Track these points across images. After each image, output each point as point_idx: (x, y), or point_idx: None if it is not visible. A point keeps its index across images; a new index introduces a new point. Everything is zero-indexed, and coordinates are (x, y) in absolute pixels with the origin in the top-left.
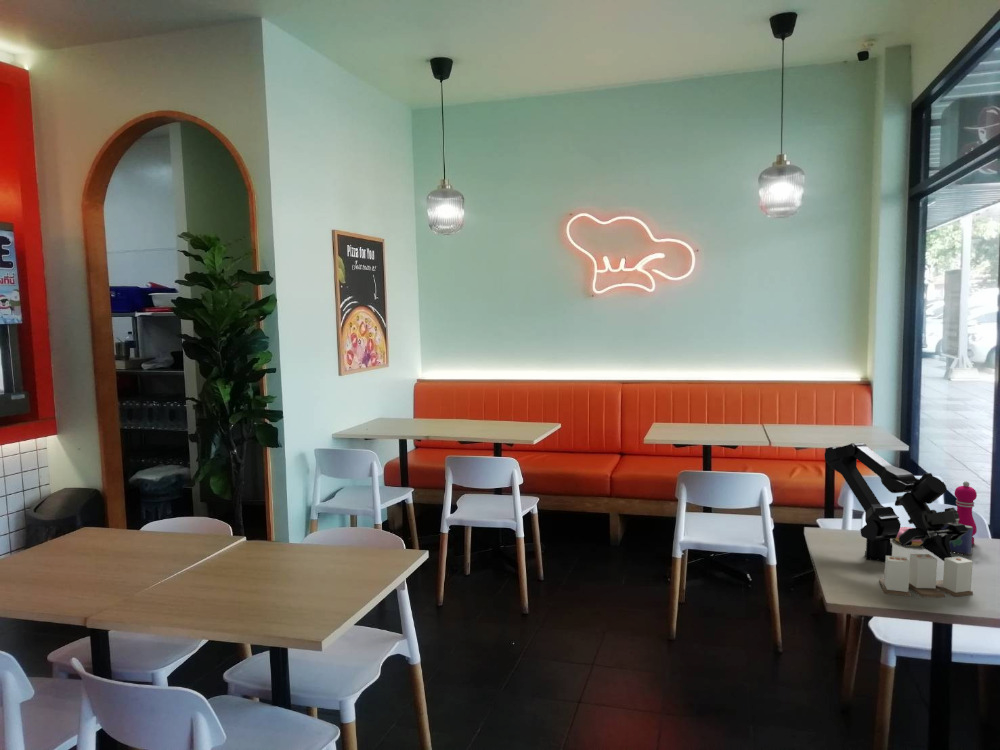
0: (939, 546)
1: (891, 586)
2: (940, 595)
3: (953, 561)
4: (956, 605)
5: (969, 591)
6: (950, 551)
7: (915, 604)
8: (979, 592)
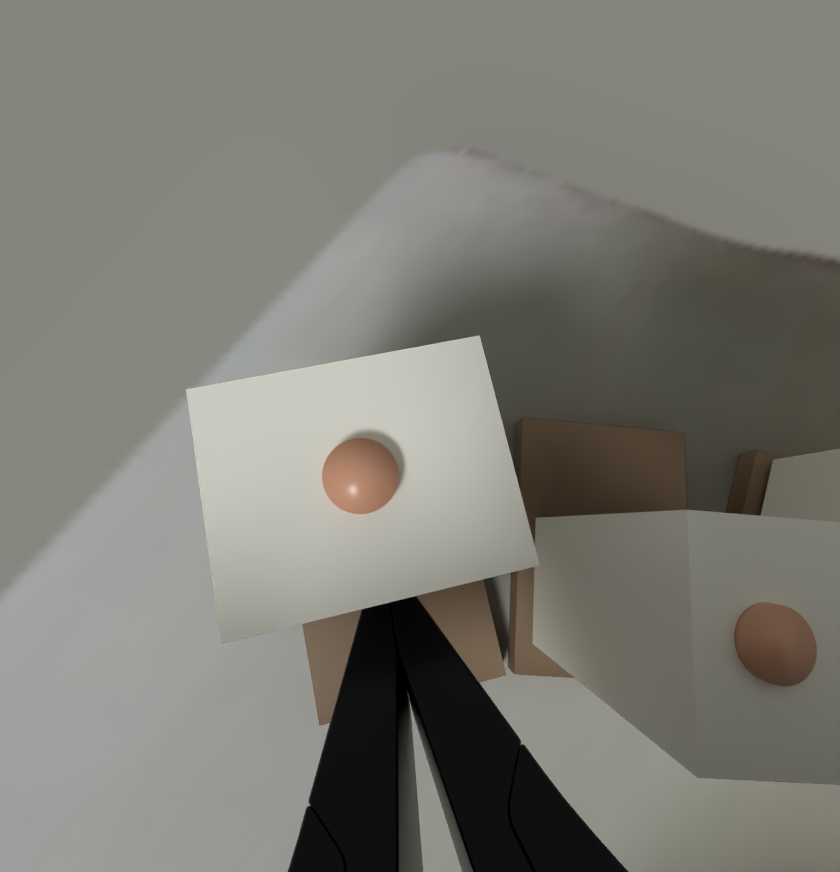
0: (604, 853)
1: None
2: (552, 422)
3: (493, 409)
4: (521, 301)
5: None
6: (323, 765)
7: (765, 333)
8: (196, 495)
